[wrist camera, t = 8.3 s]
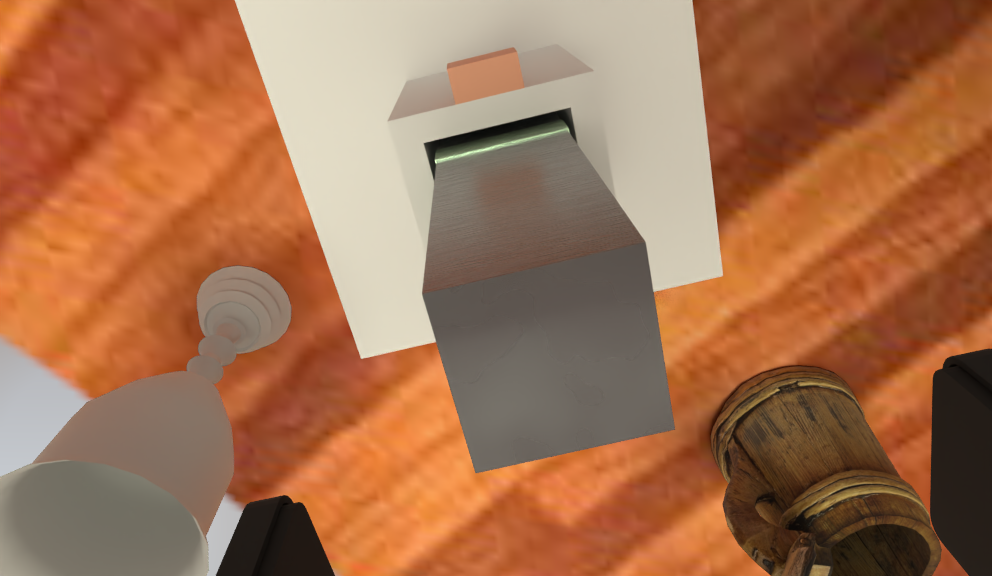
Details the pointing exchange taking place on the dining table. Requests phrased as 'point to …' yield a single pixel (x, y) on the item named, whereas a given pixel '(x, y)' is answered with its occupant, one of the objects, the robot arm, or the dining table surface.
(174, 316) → the dining table surface
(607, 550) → the dining table surface
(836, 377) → the wooden mug
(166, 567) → the chalice
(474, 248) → the column
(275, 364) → the dining table surface
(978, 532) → the robot arm
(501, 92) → the stand
